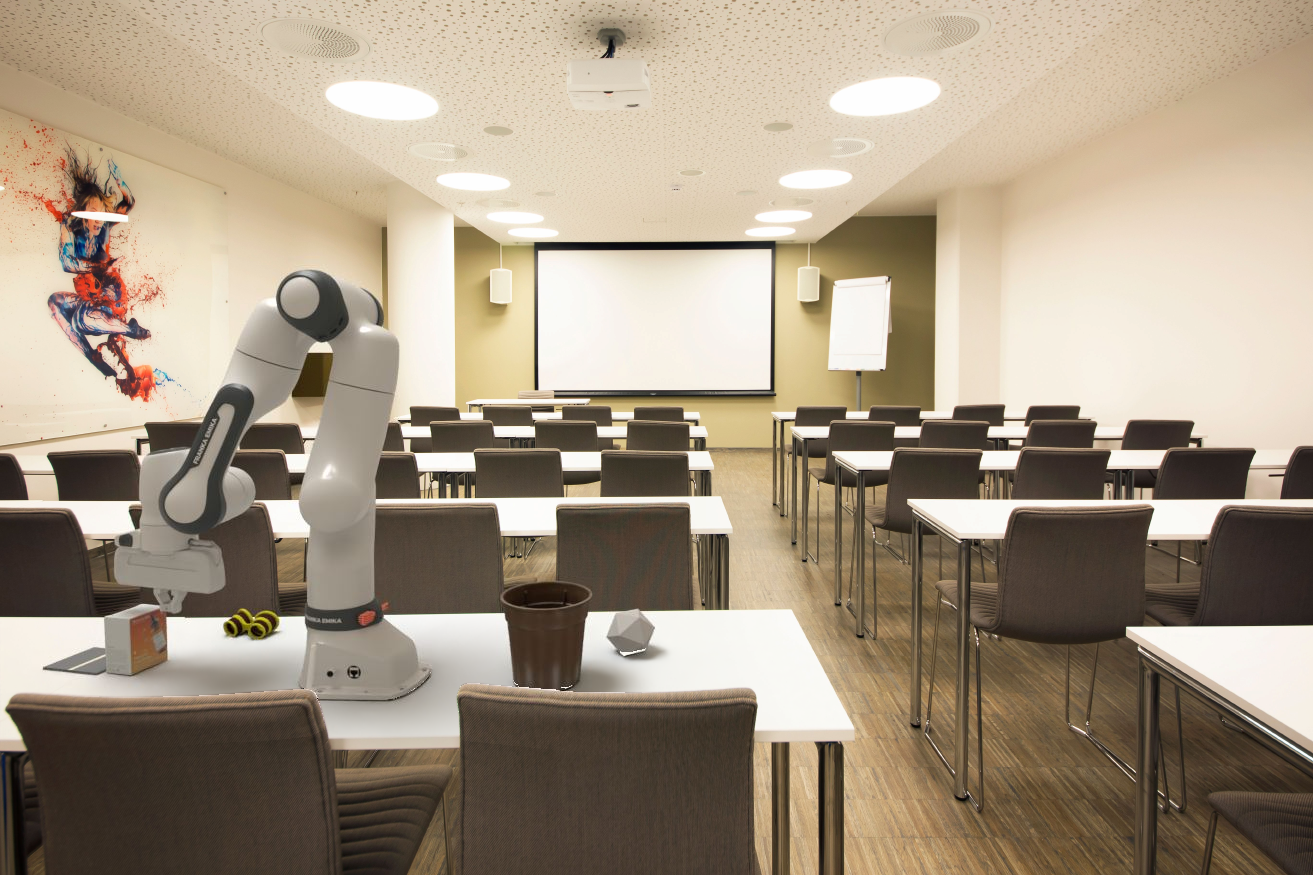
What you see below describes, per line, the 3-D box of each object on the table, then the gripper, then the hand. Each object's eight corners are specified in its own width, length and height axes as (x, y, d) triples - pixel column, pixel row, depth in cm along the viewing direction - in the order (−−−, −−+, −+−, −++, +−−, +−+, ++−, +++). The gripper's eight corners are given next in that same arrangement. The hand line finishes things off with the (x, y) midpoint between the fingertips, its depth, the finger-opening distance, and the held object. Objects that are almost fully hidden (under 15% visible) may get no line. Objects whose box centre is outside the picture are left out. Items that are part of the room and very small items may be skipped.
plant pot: (524, 708, 122) (525, 614, 120) (485, 674, 135) (485, 589, 133) (607, 685, 131) (609, 597, 130) (563, 656, 144) (564, 576, 143)
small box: (131, 676, 131) (128, 619, 130) (105, 673, 132) (102, 616, 131) (169, 659, 139) (167, 605, 138) (144, 656, 140) (142, 602, 139)
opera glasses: (223, 639, 151) (218, 618, 150) (241, 626, 156) (237, 605, 155) (264, 644, 150) (260, 622, 148) (281, 630, 155) (278, 609, 153)
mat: (145, 654, 141) (144, 651, 141) (96, 675, 131) (96, 672, 131) (94, 648, 143) (94, 646, 143) (43, 669, 133) (42, 666, 133)
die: (652, 664, 143) (666, 615, 148) (615, 647, 140) (630, 597, 144) (630, 665, 150) (644, 618, 155) (594, 648, 147) (609, 601, 151)
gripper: (233, 538, 133) (234, 612, 134) (137, 529, 137) (138, 601, 138) (206, 545, 127) (207, 623, 128) (106, 536, 130) (107, 611, 131)
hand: (170, 611), depth 133 cm, fingers closed
